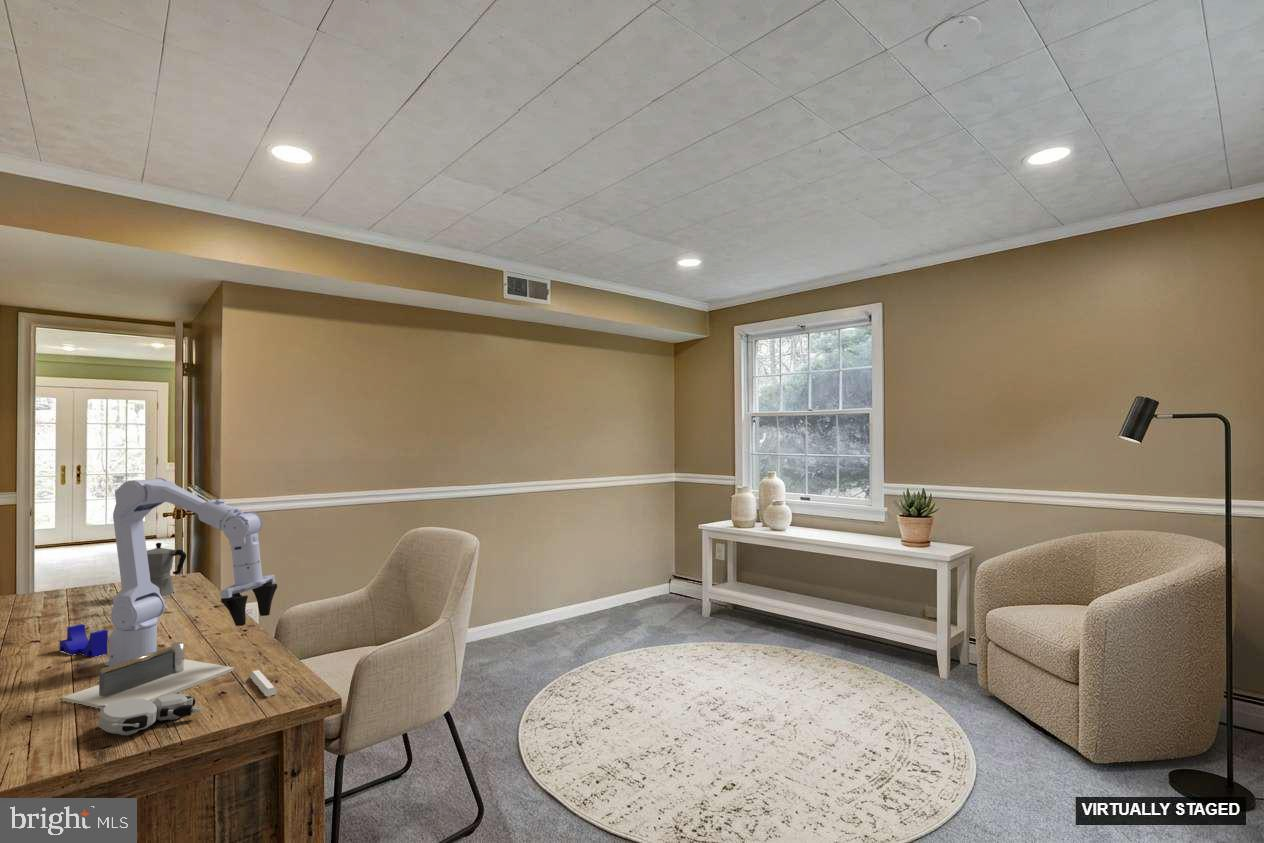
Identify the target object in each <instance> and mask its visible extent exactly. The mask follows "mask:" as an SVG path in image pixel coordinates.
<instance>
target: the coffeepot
mask: <svg viewBox="0 0 1264 843" xmlns="http://www.w3.org/2000/svg"><path fill="white" fill-rule="evenodd" d="M155 546H156V547H155V548H153V549H147V557H148V565H149V573H150V581H151V583H152V584H154V585H156V586H157V587H159V590H160V594H161V596H166V595H170V594H172V593H173V592H174V593H175V590H174V585H173V580H172V578H173V577H172V576H171V571H172V569H173V568H172V567H173V563H174V559H175V558H174V557H175V556H176V557H177V556H180V557H179V559H178V564H177V566H176V567H177V568H176V570H175V571H172V574H173V575H179V574H181V573H182V569H183V566H184V563H185V561H186V558H187V554H186V553H185V551H184V550H183V549H172V548H171V549H170V548H163V547H162V542H156V543H155Z"/></svg>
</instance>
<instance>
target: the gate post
mask: <svg viewBox="0 0 1264 843" xmlns="http://www.w3.org/2000/svg"><path fill="white" fill-rule="evenodd" d="M170 647H172V649H173V650H172V652H173V672H172V673H178V672H182V671H183V670H184V659H185V642H183V641H179V642H178V641H177V642H174V643H172V644H171V645H170Z"/></svg>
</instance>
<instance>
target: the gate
mask: <svg viewBox="0 0 1264 843" xmlns="http://www.w3.org/2000/svg"><path fill="white" fill-rule="evenodd" d="M172 650H173V649H172V647H171V646H170V647H169V646H168V647H166V648H162V649H160V650H157V651H156V652H153V653H150V654H146V655H143V656H140V657H137V658H134V659H131V660H127V661H124V662H121V663H118V664H115V665H112V666H106V667H103V668H100V670H99V678H98V680H99V681H98V682H99V684H98V685H99V696H107V695H110V694H113V693H115V692H118V691H121V690H124V689H127V688H130V687H132V686H135V685H138V684H141V683H144V682H146V681H149V680H152V679H155V678H158V677H161V676H163V675H166V674H169V673H172V672H173V652H172Z"/></svg>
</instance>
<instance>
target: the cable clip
mask: <svg viewBox="0 0 1264 843" xmlns="http://www.w3.org/2000/svg"><path fill="white" fill-rule="evenodd" d="M85 626H86V625H85V624H83V623H82V624H77V625H72V626H67V630H66V631H67V632H66V639H63V640H62V639H61V640H60V641H59V652H60V651H64V652H66V653H69V654H72V655H73V654H77V655H79V654H78V653H81V654H80V655H82V654H84V655H83V656H85V655H87V656H86V657H89V656H91V657H90V658H92V657H94V658H96V657H95V656H97V657H100V656H99V655H101V656H103V654H105V655H107V654H108V635H109V634H108V633H109V632H108V630H107V629H102V630H97V631H93V632H90V633H89V638H88V636H87V634H86V627H85Z"/></svg>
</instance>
